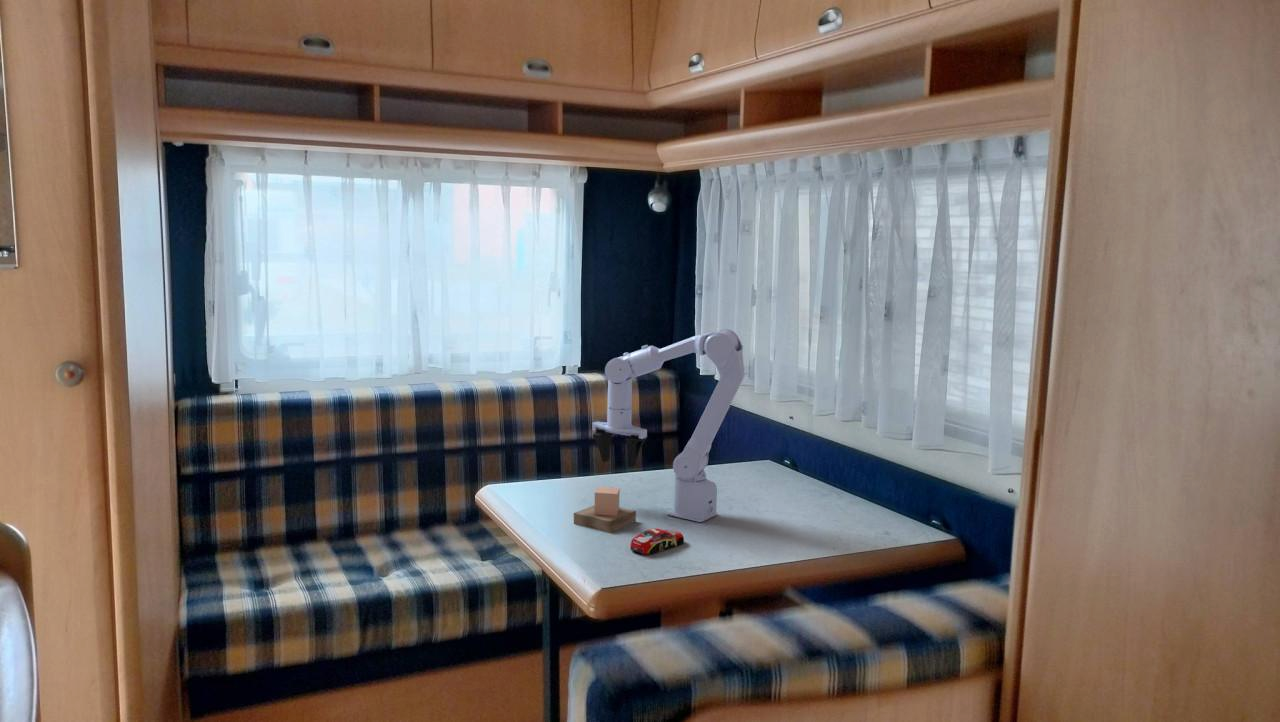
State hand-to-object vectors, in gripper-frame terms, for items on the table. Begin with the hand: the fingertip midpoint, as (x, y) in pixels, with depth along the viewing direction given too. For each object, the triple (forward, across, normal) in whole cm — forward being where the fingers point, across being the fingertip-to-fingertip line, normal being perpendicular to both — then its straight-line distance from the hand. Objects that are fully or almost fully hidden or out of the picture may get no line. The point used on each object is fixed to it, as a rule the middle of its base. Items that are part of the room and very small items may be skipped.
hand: (618, 463), depth 220 cm
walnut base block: (+11, -5, +12) cm, 17 cm away
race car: (+11, -23, +18) cm, 32 cm away
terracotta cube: (+8, -5, +12) cm, 15 cm away
